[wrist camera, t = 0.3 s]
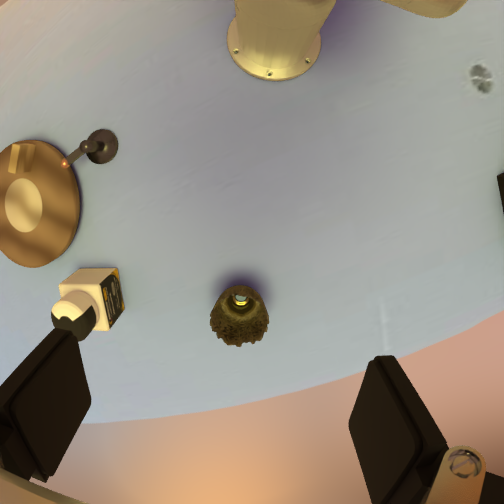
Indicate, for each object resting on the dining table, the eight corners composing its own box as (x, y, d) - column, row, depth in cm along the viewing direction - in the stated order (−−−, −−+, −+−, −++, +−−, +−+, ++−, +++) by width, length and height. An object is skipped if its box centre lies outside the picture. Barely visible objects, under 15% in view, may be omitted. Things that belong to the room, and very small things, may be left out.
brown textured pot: (221, 321, 49) (216, 350, 41) (211, 277, 47) (203, 300, 39) (269, 314, 49) (272, 343, 41) (262, 269, 47) (264, 291, 39)
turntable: (71, 279, 46) (53, 294, 40) (-12, 244, 44) (-33, 254, 38) (91, 151, 40) (70, 152, 34) (0, 133, 38) (-24, 133, 33)
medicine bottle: (125, 309, 48) (96, 350, 37) (87, 308, 49) (53, 345, 37) (118, 267, 46) (83, 300, 35) (79, 267, 46) (39, 298, 35)
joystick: (108, 122, 40) (91, 119, 35) (123, 151, 42) (107, 151, 36) (72, 150, 41) (52, 151, 36) (86, 178, 42) (67, 182, 37)
